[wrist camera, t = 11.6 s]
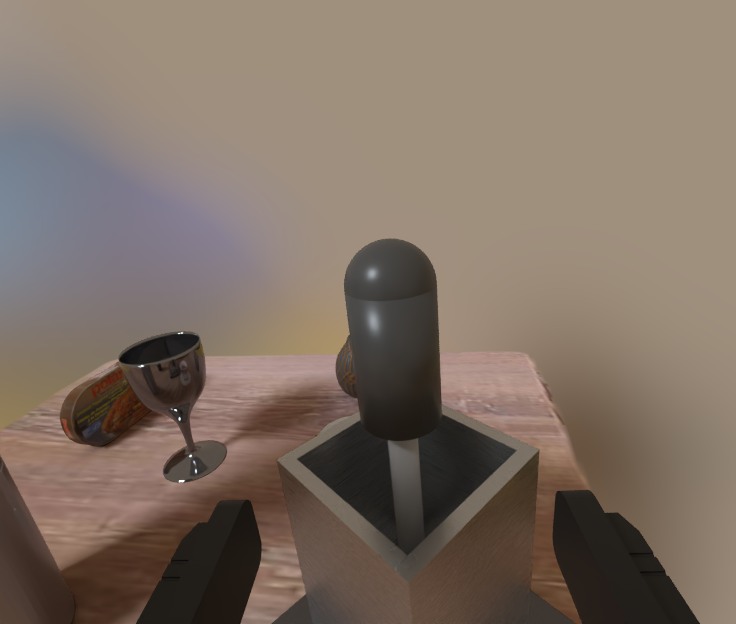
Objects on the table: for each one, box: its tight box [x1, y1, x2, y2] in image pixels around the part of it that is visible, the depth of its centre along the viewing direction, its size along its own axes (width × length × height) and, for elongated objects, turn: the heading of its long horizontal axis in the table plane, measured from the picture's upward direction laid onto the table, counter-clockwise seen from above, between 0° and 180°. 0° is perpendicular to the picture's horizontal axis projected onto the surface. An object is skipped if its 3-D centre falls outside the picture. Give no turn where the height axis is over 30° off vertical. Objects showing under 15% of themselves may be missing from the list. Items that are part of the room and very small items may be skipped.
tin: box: [60, 362, 151, 446], centre depth 56 cm, size 15×3×8 cm, turn 164°
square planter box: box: [272, 404, 576, 624], centre depth 25 cm, size 16×16×16 cm
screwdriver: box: [344, 239, 442, 556], centre depth 22 cm, size 8×8×25 cm
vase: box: [336, 335, 358, 398], centre depth 58 cm, size 7×7×9 cm
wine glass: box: [118, 331, 226, 483], centre depth 46 cm, size 8×8×15 cm
